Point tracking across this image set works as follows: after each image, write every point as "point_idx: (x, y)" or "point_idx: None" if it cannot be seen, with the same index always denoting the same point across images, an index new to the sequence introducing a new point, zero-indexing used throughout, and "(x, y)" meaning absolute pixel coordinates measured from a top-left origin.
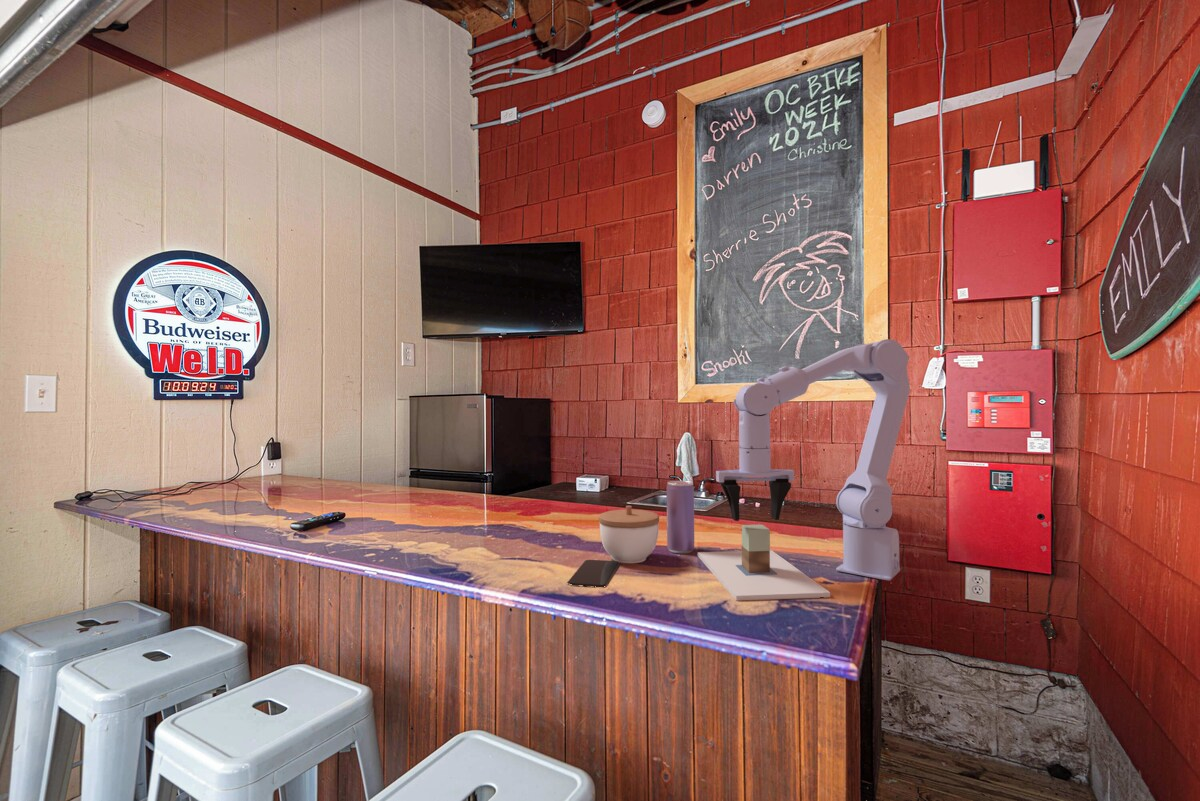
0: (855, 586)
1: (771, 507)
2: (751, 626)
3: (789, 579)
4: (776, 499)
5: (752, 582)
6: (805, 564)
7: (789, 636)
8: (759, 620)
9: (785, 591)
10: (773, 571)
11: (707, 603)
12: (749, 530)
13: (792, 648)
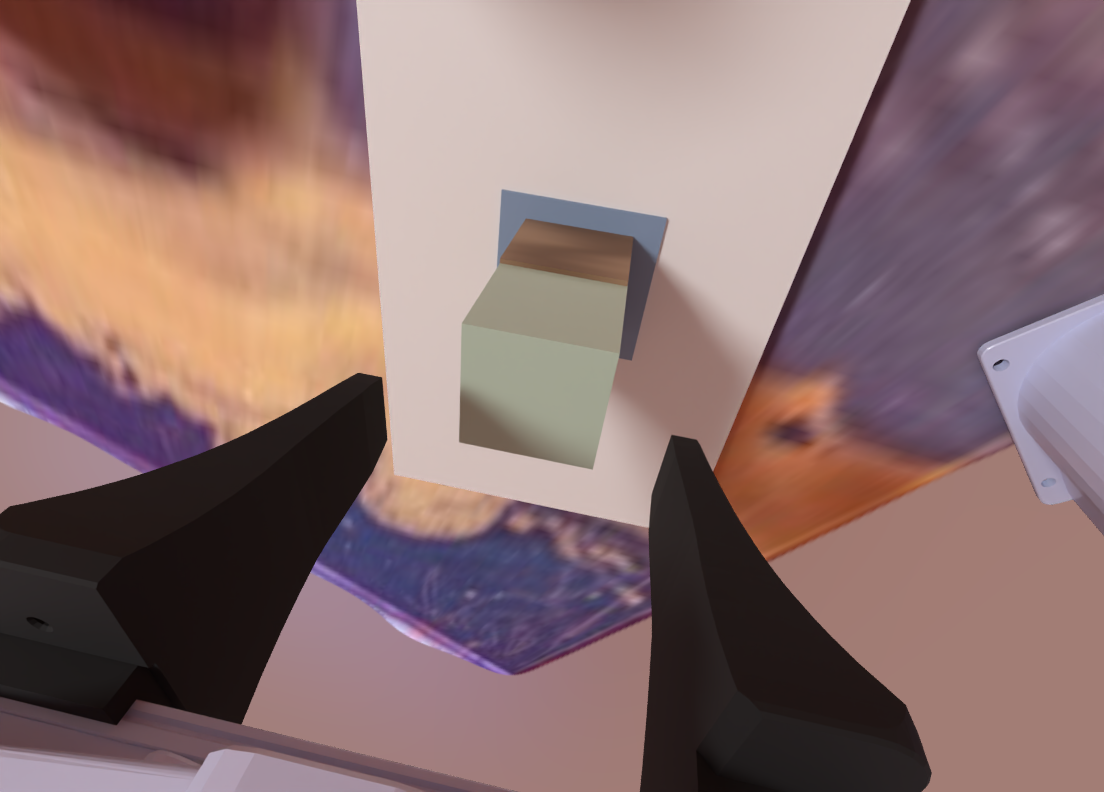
0: (857, 488)
1: (679, 489)
2: (393, 569)
3: (639, 418)
4: (659, 638)
5: None
6: (947, 194)
7: (452, 613)
8: (420, 557)
9: (556, 491)
10: (633, 330)
11: None
12: (465, 440)
13: (437, 637)
